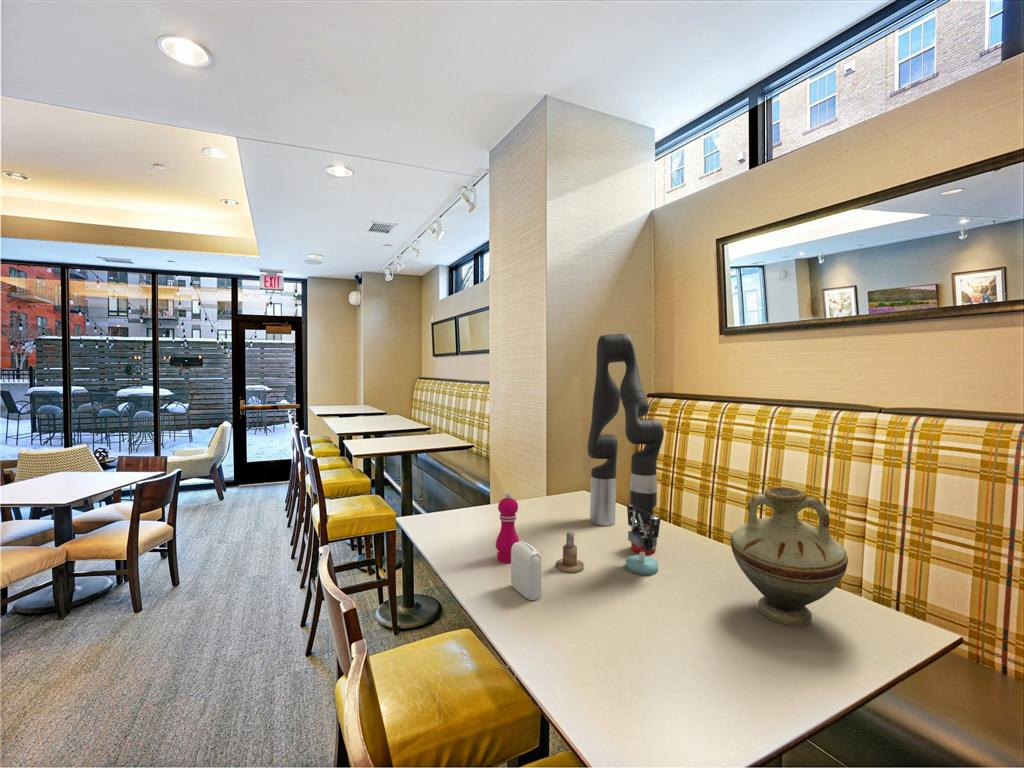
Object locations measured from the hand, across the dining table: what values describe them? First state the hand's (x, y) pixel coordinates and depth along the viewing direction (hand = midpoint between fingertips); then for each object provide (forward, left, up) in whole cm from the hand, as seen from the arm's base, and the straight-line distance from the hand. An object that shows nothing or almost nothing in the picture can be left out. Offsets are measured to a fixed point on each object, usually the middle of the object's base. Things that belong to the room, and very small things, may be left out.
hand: (642, 546), depth 134 cm
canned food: (-12, +8, -7) cm, 16 cm away
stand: (-6, -20, -6) cm, 22 cm away
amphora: (+31, +19, -7) cm, 37 cm away
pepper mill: (-16, -36, -7) cm, 40 cm away
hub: (0, 0, -6) cm, 6 cm away
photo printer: (+5, -37, -7) cm, 38 cm away
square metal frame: (0, 0, +1) cm, 1 cm away
